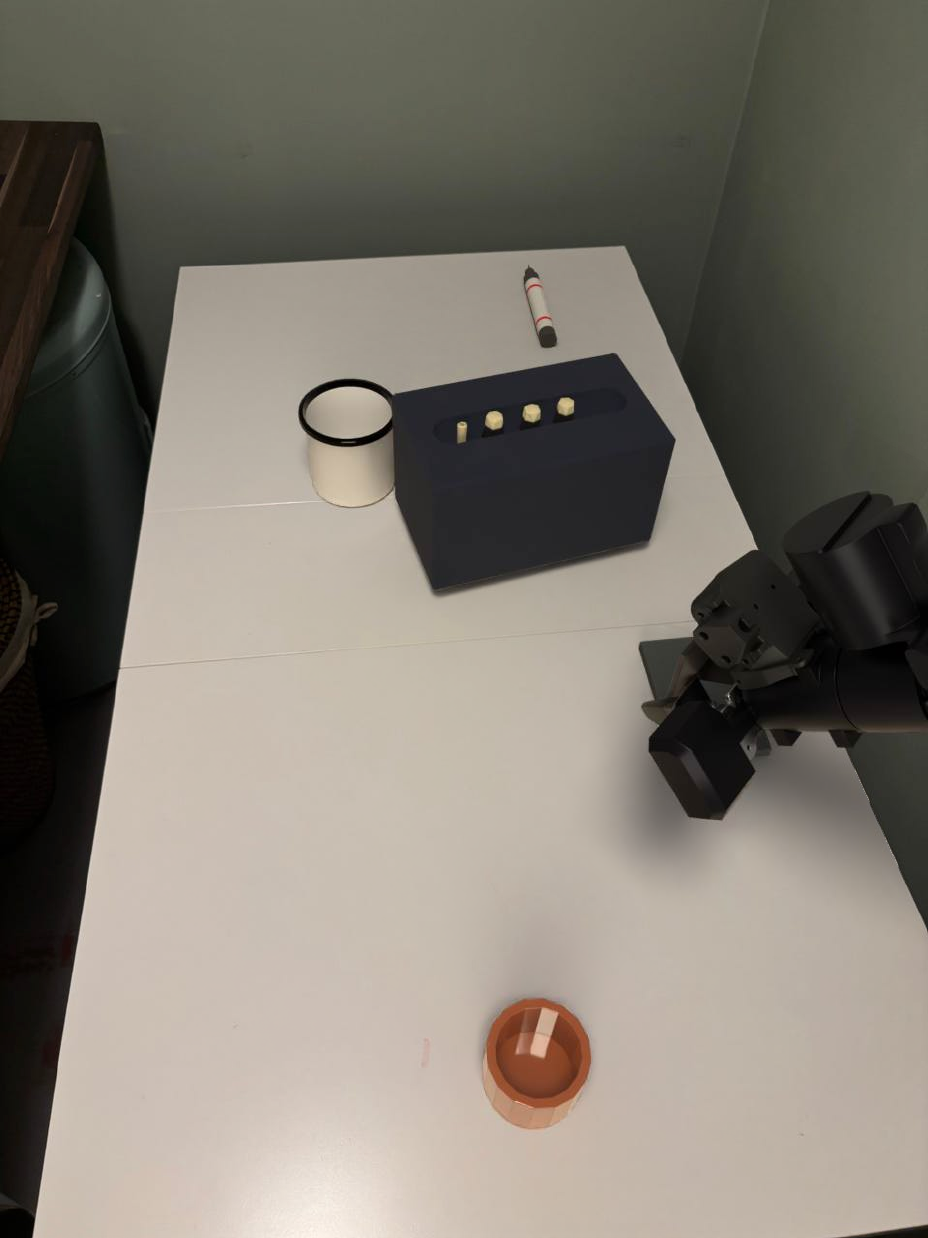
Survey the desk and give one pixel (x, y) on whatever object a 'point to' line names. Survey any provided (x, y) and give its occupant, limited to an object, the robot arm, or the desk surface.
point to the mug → (349, 440)
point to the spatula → (687, 668)
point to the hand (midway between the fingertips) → (663, 688)
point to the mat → (661, 669)
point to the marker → (539, 308)
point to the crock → (535, 1063)
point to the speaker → (527, 468)
